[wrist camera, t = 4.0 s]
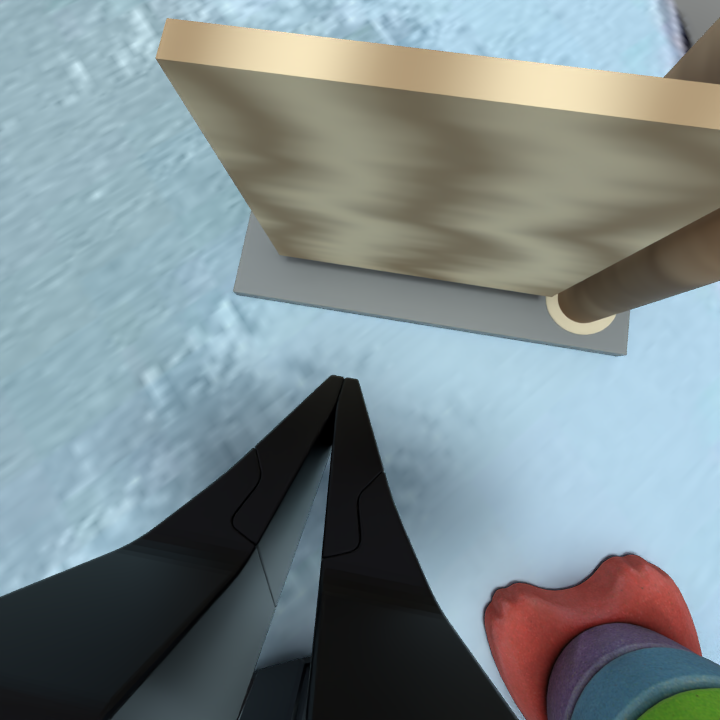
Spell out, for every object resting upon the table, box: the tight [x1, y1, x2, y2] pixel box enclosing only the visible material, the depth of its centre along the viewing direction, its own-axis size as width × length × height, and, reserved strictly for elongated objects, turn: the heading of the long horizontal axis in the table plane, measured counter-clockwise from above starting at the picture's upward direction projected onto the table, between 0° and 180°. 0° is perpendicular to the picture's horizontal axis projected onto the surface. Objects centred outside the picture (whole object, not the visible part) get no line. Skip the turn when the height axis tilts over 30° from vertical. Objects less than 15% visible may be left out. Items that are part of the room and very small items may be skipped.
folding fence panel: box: [156, 18, 720, 297], centre depth 13 cm, size 16×1×11 cm, turn 80°
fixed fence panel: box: [558, 18, 720, 323], centre depth 13 cm, size 11×3×13 cm, turn 170°
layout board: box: [233, 210, 630, 356], centre depth 20 cm, size 18×25×1 cm
